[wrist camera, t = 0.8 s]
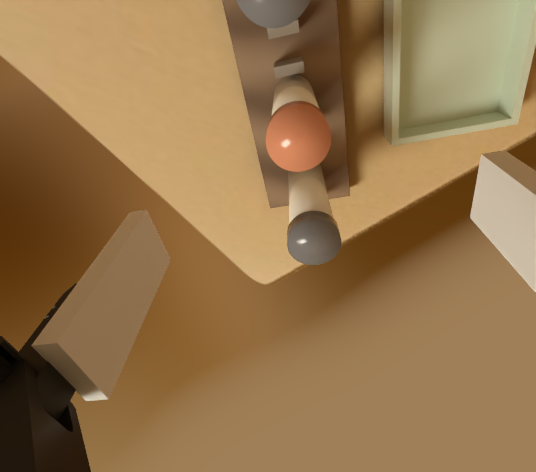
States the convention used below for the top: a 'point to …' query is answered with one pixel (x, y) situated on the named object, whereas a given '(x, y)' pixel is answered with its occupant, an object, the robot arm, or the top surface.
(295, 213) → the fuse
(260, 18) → the fuse
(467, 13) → the tray
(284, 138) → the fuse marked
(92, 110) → the top surface
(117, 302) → the robot arm
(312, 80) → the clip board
